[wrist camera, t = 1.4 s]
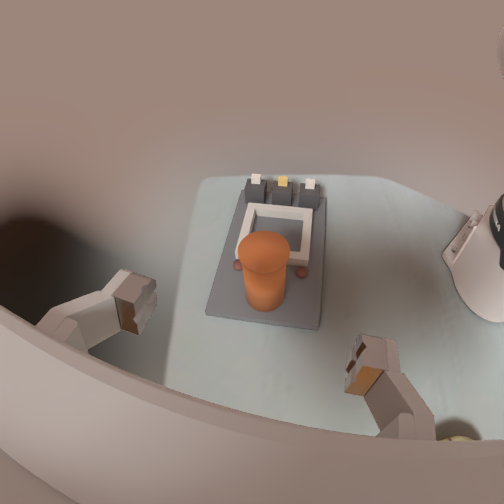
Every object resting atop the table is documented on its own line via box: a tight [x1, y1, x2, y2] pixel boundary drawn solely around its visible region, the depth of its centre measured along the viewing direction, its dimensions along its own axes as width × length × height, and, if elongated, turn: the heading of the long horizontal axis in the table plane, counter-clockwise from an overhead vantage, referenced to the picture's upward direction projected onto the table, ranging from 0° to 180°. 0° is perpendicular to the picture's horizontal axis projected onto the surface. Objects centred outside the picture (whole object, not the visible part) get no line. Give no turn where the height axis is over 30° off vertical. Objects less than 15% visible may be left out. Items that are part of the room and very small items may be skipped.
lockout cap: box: [238, 231, 290, 312], centre depth 36 cm, size 5×5×9 cm
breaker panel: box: [205, 174, 326, 330], centre depth 43 cm, size 23×14×5 cm, turn 170°
